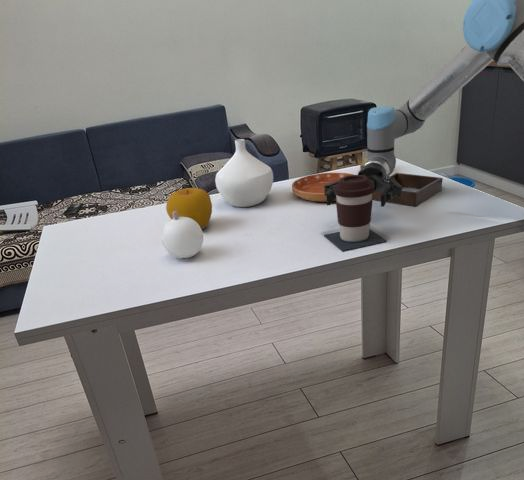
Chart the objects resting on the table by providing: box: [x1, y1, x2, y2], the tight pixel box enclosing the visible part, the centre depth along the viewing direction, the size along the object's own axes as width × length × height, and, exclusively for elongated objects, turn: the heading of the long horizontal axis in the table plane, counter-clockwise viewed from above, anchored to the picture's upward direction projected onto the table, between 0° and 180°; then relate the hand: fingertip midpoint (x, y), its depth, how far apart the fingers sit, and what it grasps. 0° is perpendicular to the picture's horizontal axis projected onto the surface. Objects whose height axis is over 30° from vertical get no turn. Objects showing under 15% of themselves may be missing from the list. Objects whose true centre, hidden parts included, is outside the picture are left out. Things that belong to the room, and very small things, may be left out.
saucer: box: [291, 172, 355, 203], centre depth 171 cm, size 23×23×4 cm
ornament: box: [161, 211, 204, 259], centre depth 136 cm, size 10×10×12 cm
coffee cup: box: [334, 174, 375, 242], centre depth 134 cm, size 10×10×15 cm
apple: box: [165, 187, 213, 230], centre depth 154 cm, size 13×13×11 cm
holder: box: [372, 172, 444, 208], centre depth 162 cm, size 16×16×4 cm
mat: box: [323, 228, 388, 253], centre depth 138 cm, size 12×12×1 cm
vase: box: [214, 138, 274, 208], centre depth 168 cm, size 18×18×19 cm
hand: (354, 200), depth 132 cm, fingers open, 13 cm apart
